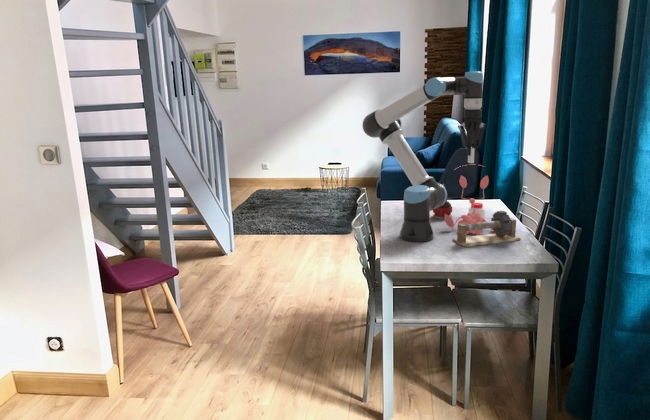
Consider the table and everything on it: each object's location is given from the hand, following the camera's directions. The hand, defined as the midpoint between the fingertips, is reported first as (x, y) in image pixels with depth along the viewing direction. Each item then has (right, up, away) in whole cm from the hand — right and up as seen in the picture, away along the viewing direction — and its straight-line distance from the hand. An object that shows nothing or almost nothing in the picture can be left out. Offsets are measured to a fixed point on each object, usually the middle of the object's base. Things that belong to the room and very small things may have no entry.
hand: (470, 162), depth 232 cm
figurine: (+10, -2, +29) cm, 31 cm away
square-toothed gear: (+15, -32, +4) cm, 36 cm away
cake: (-3, -25, +44) cm, 51 cm away
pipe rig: (+8, -34, +3) cm, 35 cm away
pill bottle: (+10, -29, +27) cm, 41 cm away
